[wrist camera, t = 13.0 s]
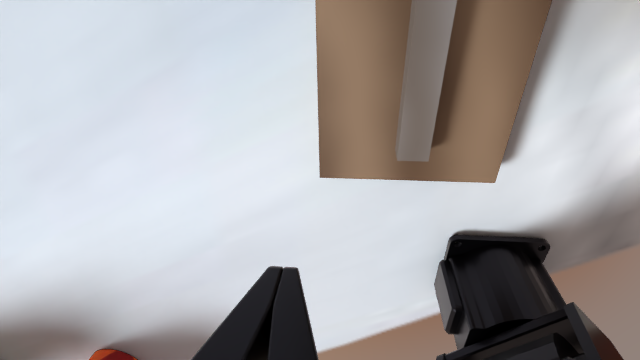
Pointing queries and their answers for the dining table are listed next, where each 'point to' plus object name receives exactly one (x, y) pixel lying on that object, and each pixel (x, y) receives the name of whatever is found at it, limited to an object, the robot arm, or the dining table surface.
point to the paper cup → (111, 355)
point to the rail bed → (421, 85)
